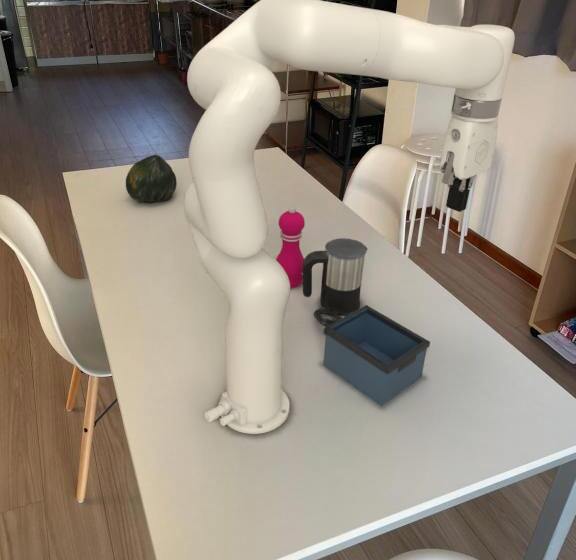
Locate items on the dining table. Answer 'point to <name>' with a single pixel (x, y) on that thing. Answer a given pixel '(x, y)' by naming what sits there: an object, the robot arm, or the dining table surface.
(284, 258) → the pepper mill
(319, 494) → the dining table surface
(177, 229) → the dining table surface
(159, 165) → the squash
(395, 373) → the blue storage bin
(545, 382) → the dining table surface
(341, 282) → the milk frother
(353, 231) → the dining table surface
